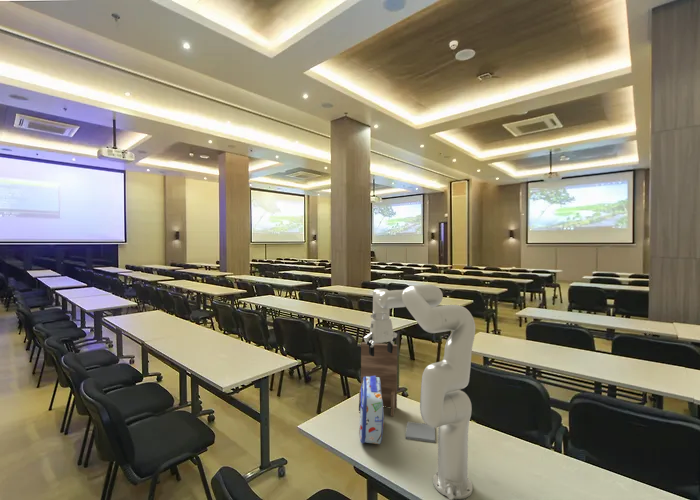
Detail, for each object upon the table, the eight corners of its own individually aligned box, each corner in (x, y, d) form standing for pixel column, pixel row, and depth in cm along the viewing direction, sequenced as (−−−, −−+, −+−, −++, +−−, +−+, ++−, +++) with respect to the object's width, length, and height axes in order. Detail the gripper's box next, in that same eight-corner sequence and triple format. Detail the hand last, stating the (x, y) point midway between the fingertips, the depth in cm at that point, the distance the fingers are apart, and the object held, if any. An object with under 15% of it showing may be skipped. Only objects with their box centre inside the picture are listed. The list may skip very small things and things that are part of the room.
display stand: (395, 416, 156) (395, 350, 156) (357, 412, 160) (358, 347, 160) (396, 407, 166) (397, 344, 165) (361, 403, 170) (361, 342, 169)
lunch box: (358, 415, 157) (359, 368, 157) (380, 415, 157) (380, 369, 157) (359, 450, 130) (359, 394, 130) (385, 451, 130) (386, 394, 130)
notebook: (435, 444, 136) (435, 440, 136) (405, 440, 138) (405, 436, 138) (434, 428, 147) (434, 424, 147) (407, 425, 150) (407, 421, 150)
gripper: (368, 319, 144) (368, 359, 144) (401, 316, 151) (401, 353, 151) (360, 316, 150) (360, 354, 150) (392, 313, 158) (392, 349, 158)
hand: (380, 353), depth 151 cm, fingers open, 9 cm apart
